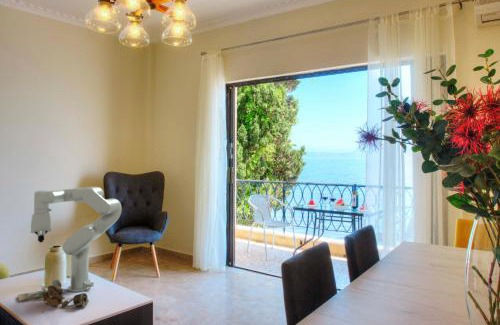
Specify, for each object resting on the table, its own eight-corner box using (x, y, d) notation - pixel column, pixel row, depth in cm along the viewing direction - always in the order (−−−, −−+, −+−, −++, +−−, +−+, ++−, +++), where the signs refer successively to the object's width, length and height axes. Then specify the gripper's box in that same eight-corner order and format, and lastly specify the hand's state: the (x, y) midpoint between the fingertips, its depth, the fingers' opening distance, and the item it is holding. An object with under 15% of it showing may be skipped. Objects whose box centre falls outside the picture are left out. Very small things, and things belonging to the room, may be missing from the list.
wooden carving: (38, 304, 187) (38, 285, 187) (46, 301, 191) (46, 282, 191) (59, 309, 180) (60, 289, 180) (67, 306, 185) (68, 287, 185)
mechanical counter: (76, 302, 177) (92, 291, 186) (57, 296, 181) (73, 285, 190) (78, 314, 178) (93, 303, 187) (59, 308, 183) (74, 297, 192)
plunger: (43, 295, 195) (43, 287, 195) (41, 291, 201) (41, 283, 201) (45, 295, 196) (45, 287, 196) (43, 291, 202) (43, 283, 202)
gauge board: (19, 302, 189) (19, 291, 189) (17, 297, 197) (17, 286, 197) (61, 294, 201) (61, 284, 201) (58, 289, 209) (58, 279, 209)
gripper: (54, 209, 220) (54, 239, 220) (26, 211, 211) (25, 242, 211) (56, 211, 214) (56, 241, 214) (27, 213, 205) (26, 244, 205)
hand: (41, 241), depth 213 cm, fingers closed
